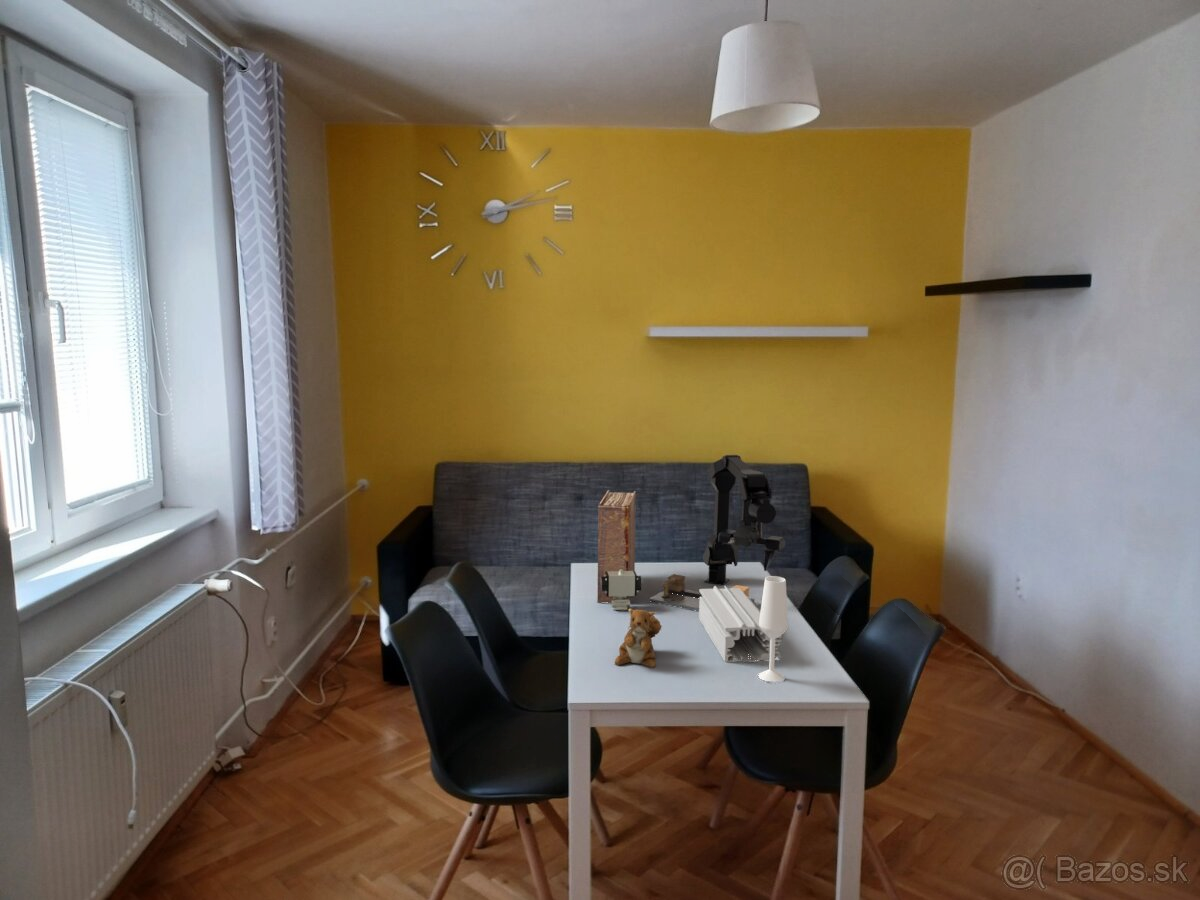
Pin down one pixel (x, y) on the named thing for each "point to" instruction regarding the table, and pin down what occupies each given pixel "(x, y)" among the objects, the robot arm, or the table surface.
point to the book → (615, 536)
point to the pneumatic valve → (620, 587)
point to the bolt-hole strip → (676, 601)
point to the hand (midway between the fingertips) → (750, 568)
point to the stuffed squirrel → (639, 639)
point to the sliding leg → (743, 589)
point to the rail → (691, 593)
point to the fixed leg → (674, 583)
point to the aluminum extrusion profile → (734, 625)
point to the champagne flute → (773, 619)
